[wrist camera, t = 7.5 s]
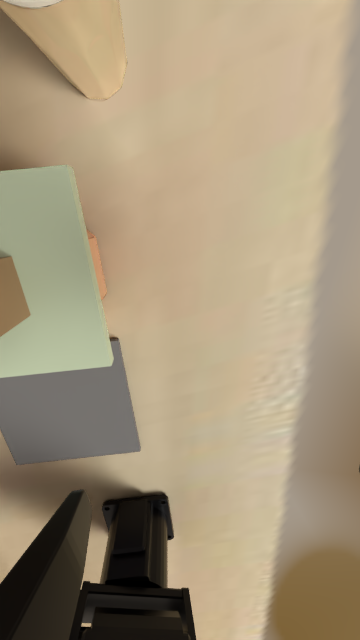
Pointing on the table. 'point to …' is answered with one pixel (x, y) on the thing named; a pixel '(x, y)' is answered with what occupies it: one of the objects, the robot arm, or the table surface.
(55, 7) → the milkshake
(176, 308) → the table surface
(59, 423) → the mat
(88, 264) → the cover board
